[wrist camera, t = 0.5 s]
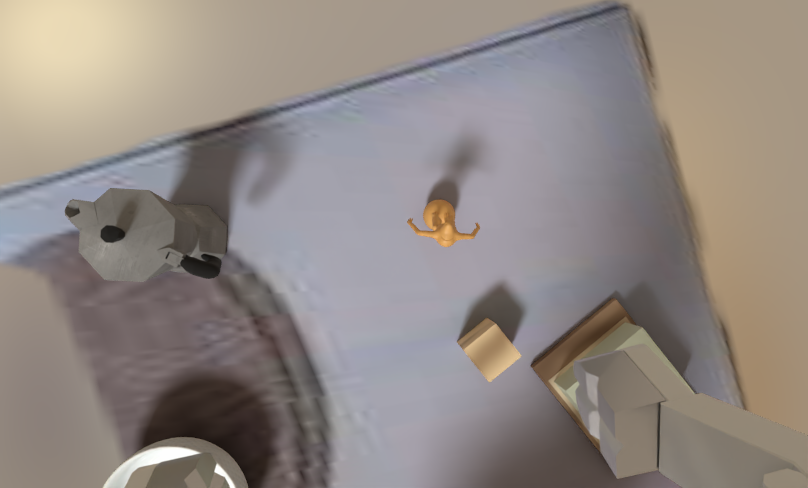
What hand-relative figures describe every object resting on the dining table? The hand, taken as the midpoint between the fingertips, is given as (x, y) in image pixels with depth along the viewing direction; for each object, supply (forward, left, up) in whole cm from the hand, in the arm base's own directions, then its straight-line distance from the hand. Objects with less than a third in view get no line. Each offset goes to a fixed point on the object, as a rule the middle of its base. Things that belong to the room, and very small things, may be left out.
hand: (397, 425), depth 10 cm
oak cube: (-14, -4, -50) cm, 52 cm away
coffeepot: (+19, +16, -50) cm, 55 cm away
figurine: (+2, -9, -50) cm, 51 cm away
